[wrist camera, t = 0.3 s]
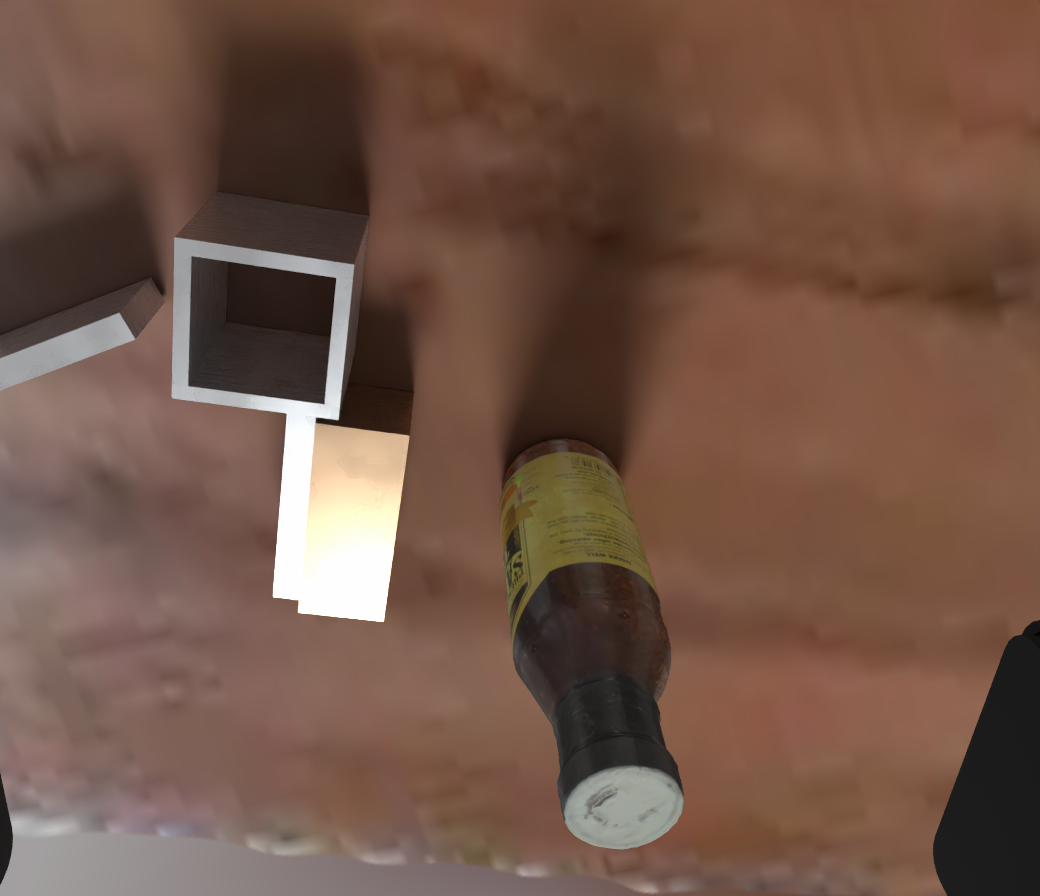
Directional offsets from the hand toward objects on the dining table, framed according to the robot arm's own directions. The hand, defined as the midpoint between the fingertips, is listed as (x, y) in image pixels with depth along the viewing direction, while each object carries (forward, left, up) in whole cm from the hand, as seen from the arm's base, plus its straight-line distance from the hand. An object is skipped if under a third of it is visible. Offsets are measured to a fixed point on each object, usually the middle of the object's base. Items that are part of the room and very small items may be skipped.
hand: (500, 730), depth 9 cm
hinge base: (+14, -5, -35) cm, 39 cm away
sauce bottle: (+17, +7, -36) cm, 40 cm away
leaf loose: (+12, -16, -35) cm, 41 cm away
